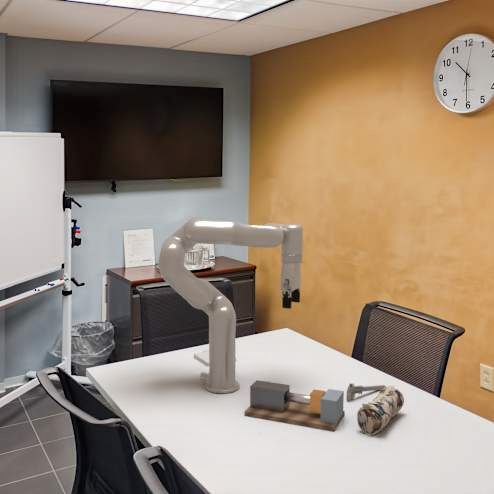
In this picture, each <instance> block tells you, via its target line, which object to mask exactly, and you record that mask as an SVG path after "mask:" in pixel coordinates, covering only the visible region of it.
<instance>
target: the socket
mask: <svg viewBox="0 0 494 494" xmlns="http://www.w3.org/2000/svg"><path fill="white" fill-rule="evenodd" d="M344 392H345V391H344V390H339V389H332V388H328V389H327V390H326V393H325V394H324V396H323V397H322V398H321V421H320V422H326V423H332V424H337V422H338V420H339V419H340V417H341V416H342V414H343V411H344V399H345V398H344V395H345V393H344Z"/></svg>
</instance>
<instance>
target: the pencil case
mask: <svg viewBox="0 0 494 494" xmlns="http://www.w3.org/2000/svg"><path fill="white" fill-rule="evenodd" d="M404 404H405V398H404V395H403V393H402V392H401V391H400V390H399V389H398V388H395V385H387V386H386V388H383V389H382V390H379V393H378V394H377V396H376V397H375V398H373V400H372V401H371V402H370V401H368V403H362V407H360V408H359V409H358V411H357V414H356V418H357V419H356V421H357V425H358V428H359V429H360V430H361V432H363V433H365V434H366V435H369V436H373V435H376V434H378V433H380V432H381V431H382V430H383V429H384V428H385V427H386V426H387V425H388V424H389V423H390V422H391V420H393V418H394V417H395V416H396V415H397V414H398V413H399V411H400V410H401V409H402V408H403V406H404Z"/></svg>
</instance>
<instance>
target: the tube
mask: <svg viewBox="0 0 494 494" xmlns="http://www.w3.org/2000/svg"><path fill="white" fill-rule="evenodd" d="M326 392H327V390H320V389H316V388H315V389H312V390H311V392H310V393H309V395H308V394H302V393H298V392H297V393H296V392H285V401H287V402H294V403H300V404H306V405H310V410H309V412H312V413H318V414H321V398H322V397H323V396H324V394H325V393H326Z"/></svg>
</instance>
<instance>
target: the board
mask: <svg viewBox="0 0 494 494" xmlns="http://www.w3.org/2000/svg"><path fill="white" fill-rule="evenodd" d="M309 410H310V405H306V404H300V403H294V402H289V407H288V409H287V410H286V411H285V412H284V413H280V412H275V411H269V410H263V409H257V408H251V407H250V405H249V406H248V407H247V408H246V409H245V410H244V416H246V417H251V418H256V419H262V420H268V421H273V422H279V423H285V424H289V425H290V424H292V425H295V426H297V425H298V426H302V427H308V428H313V429H319V430H324V431H331V432H335V431H336V430H337V428H338V426H339V425H340V423H341V421H342V420H343V418H344V416H345V414H346V413H345V410H343V414H342V416H341V417H340V419H339V420H338V422H337V424H332V423H326V422H320V421H321V414H318V413H312V412H309Z"/></svg>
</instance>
